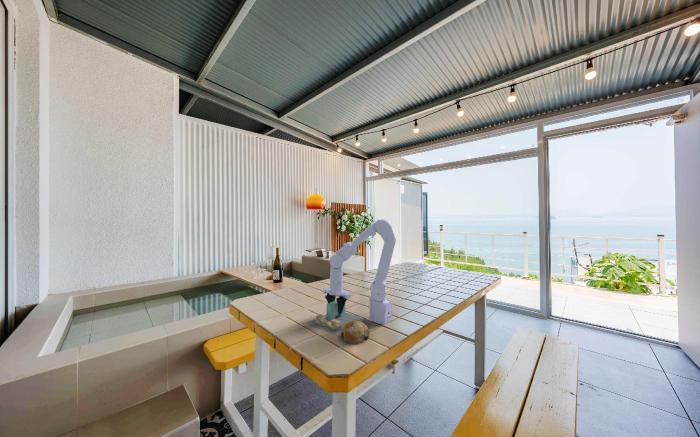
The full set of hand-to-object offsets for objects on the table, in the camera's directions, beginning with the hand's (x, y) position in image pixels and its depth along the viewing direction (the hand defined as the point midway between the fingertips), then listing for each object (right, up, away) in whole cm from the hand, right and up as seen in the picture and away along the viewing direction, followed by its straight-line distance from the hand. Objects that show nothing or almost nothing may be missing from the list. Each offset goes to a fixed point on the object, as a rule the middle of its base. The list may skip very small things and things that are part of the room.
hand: (336, 312), depth 109 cm
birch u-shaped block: (-3, -2, -9) cm, 9 cm away
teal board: (0, -2, 0) cm, 2 cm away
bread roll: (+8, -3, -18) cm, 20 cm away
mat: (0, -3, -3) cm, 4 cm away
